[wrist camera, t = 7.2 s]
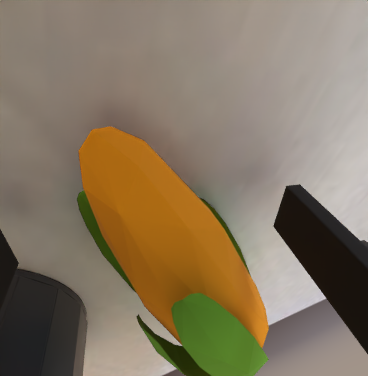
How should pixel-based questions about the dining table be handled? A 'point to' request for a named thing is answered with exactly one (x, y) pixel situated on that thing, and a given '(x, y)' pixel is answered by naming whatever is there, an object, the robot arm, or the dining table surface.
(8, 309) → the pot
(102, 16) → the dining table surface
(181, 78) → the dining table surface
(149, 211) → the corn
